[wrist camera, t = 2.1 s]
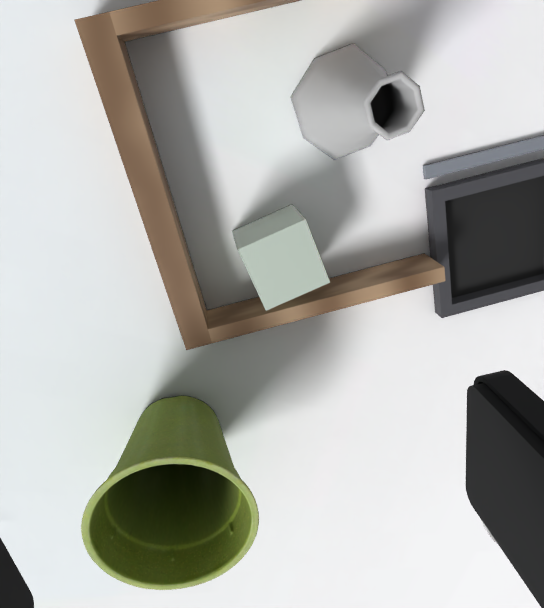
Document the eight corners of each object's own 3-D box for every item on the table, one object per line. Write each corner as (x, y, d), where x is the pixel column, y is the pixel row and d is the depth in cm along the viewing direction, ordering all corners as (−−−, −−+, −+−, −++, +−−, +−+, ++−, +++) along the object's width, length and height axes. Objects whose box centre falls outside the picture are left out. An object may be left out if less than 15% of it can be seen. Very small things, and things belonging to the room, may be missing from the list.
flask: (409, 113, 35) (483, 118, 26) (330, 177, 36) (375, 203, 27) (355, 22, 33) (417, -7, 24) (272, 94, 34) (300, 93, 25)
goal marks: (562, -60, 33) (567, -61, 32) (557, 144, 38) (560, 145, 38) (406, -23, 32) (409, -24, 32) (424, 178, 38) (426, 179, 37)
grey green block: (291, 203, 37) (305, 219, 32) (314, 260, 39) (330, 282, 34) (231, 230, 37) (237, 249, 32) (257, 285, 39) (265, 310, 35)
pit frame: (556, 154, 38) (567, 156, 37) (553, 280, 43) (562, 285, 42) (424, 188, 38) (431, 191, 37) (435, 312, 42) (441, 318, 41)
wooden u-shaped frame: (397, -45, 31) (420, -60, 28) (425, 266, 41) (445, 281, 37) (86, 27, 30) (74, 19, 27) (187, 329, 40) (186, 350, 36)
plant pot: (258, 380, 43) (279, 471, 32) (226, 485, 47) (235, 594, 36) (120, 358, 40) (94, 449, 29) (99, 471, 44) (69, 585, 34)
